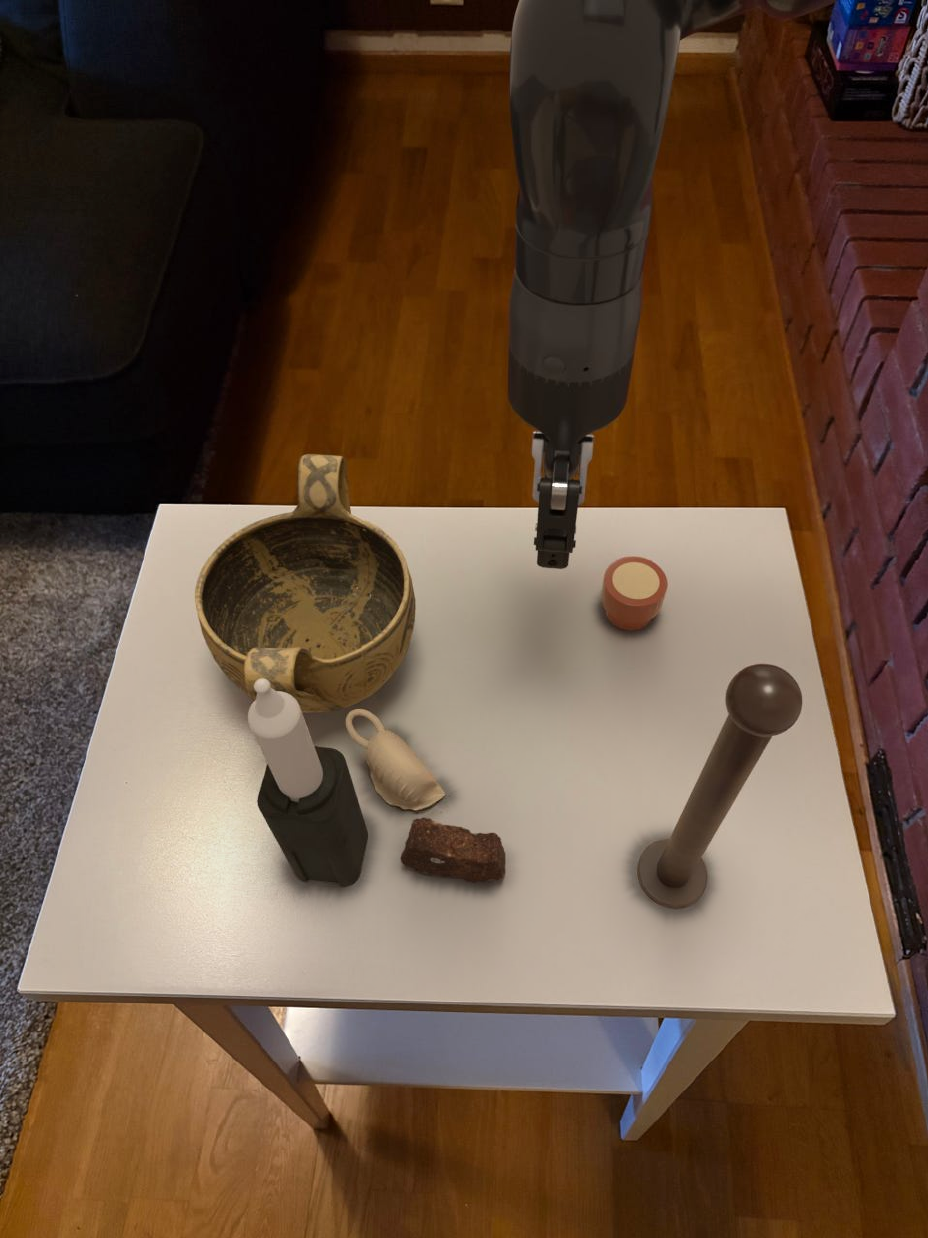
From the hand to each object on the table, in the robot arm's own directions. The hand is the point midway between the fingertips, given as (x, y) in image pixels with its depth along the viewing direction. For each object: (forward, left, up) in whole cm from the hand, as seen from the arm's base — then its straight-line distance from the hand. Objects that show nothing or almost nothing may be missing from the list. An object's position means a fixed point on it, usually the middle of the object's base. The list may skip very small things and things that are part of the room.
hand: (555, 519), depth 64 cm
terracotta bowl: (-5, -6, -15) cm, 17 cm away
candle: (+2, +26, -15) cm, 30 cm away
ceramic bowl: (+14, +14, -15) cm, 25 cm away
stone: (-6, +21, -15) cm, 27 cm away
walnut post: (-20, +12, -15) cm, 28 cm away
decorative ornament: (+2, +18, -15) cm, 24 cm away
